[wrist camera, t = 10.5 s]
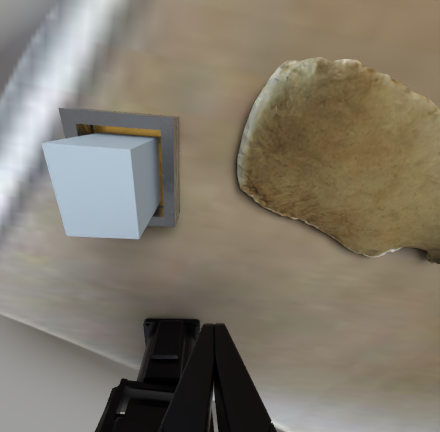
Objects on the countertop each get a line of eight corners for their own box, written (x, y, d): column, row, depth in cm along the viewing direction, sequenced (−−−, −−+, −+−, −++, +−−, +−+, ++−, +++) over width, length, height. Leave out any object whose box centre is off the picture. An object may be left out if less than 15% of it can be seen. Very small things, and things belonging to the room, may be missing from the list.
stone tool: (519, 189, 19) (294, 19, 13) (584, 213, 16) (316, -2, 10) (405, 269, 25) (213, 172, 19) (433, 299, 21) (210, 193, 16)
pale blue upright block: (161, 200, 18) (139, 239, 12) (111, 197, 17) (66, 235, 12) (158, 136, 15) (130, 149, 10) (101, 132, 15) (41, 142, 10)
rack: (179, 212, 19) (174, 228, 16) (101, 207, 19) (82, 224, 16) (179, 116, 16) (172, 117, 13) (83, 108, 15) (55, 107, 12)
